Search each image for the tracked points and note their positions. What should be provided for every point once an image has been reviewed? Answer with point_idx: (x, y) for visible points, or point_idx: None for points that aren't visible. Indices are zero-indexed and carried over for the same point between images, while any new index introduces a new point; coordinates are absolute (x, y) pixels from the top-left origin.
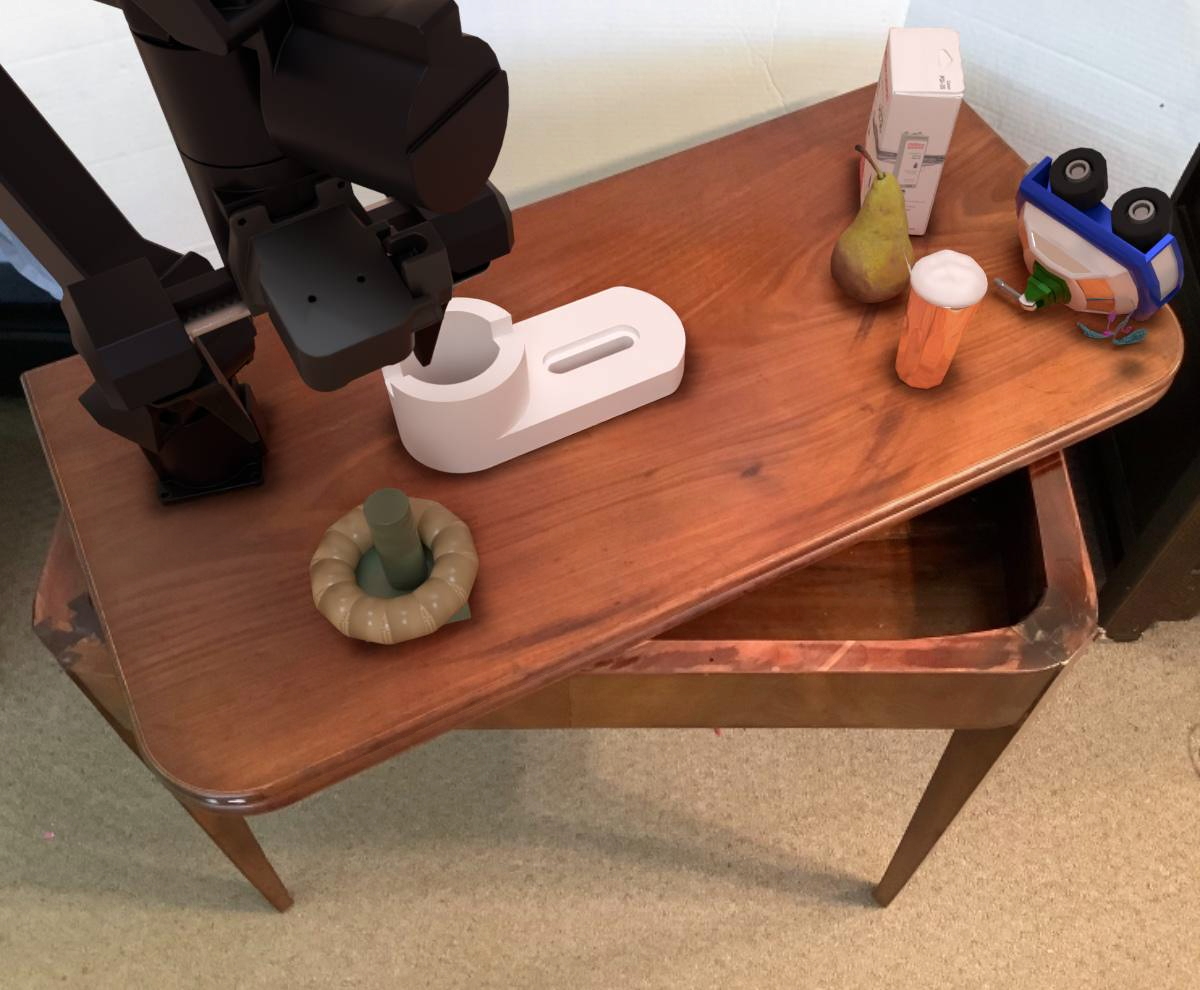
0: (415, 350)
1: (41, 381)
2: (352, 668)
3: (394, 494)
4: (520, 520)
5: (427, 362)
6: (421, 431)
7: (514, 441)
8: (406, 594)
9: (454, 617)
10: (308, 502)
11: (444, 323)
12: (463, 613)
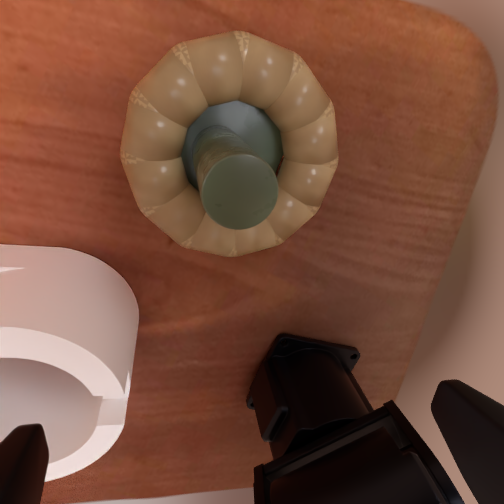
0: (35, 479)
1: None
2: None
3: (217, 206)
4: (49, 156)
5: (19, 435)
6: (115, 316)
7: (3, 258)
8: (248, 95)
9: None
10: (254, 298)
11: None
12: None
